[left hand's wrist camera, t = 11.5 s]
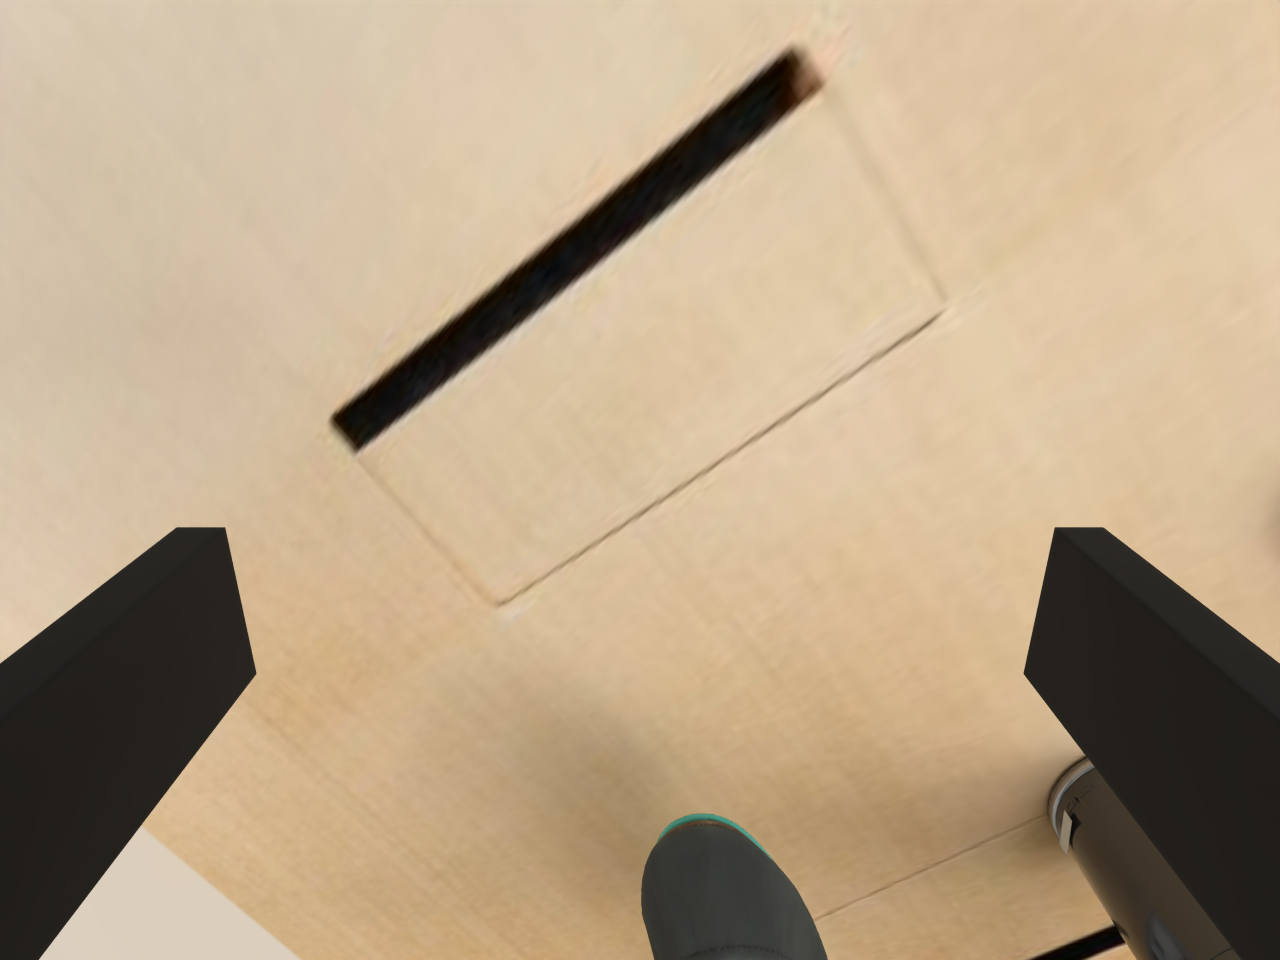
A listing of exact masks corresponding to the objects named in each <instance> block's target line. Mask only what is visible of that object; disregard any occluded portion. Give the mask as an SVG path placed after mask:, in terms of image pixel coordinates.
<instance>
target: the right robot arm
mask: <svg viewBox="0 0 1280 960" xmlns="http://www.w3.org/2000/svg"><path fill="white" fill-rule="evenodd" d="M1048 817H1049V821H1050V824H1051V826H1052V828H1053V830H1054V831H1055V833H1056V835H1057V836H1058V838H1059V839H1060V843H1059V844H1060V846H1061V847H1062V849H1063V851H1064V852H1065V854H1066V855H1067V851H1069V852H1070V854H1071V855H1072V857H1073V859H1074V860H1075V862H1076V863H1077V865H1078V867H1079V868H1080V870H1081V872H1082V873H1083V875H1084V877H1085V878H1086V880H1087V882H1088V883H1089V885H1090V886H1091V888H1092V889H1093V891H1094V893H1095V894H1096V896H1097V897H1098V899H1099V901H1100V902H1101V904H1102V905H1103V907H1104V909H1105V910H1106V912H1107V913H1108V915H1109V916H1110V918H1111V920H1112V921H1113V923H1114V924H1115V926H1116V928H1117V929H1118V931H1119V932H1120V934H1121V936H1122V937H1123V939H1124V940H1125V942H1126V944H1127V945H1128V947H1129V948H1130V950H1131V951H1132V953H1133V955H1134V956H1135V958H1136V959H1137V960H1241V959H1240V957H1239V956H1238V955H1237V953H1236V952H1235V951H1234V950H1233V948H1232V947H1231V946H1230V944H1229V943H1228V942H1227V940H1226V939H1225V938H1224V936H1223V935H1222V934H1221V932H1220V931H1219V930H1218V928H1217V927H1216V926H1215V925H1214V923H1213V922H1212V921H1211V919H1210V918H1209V917H1208V915H1207V914H1206V913H1205V911H1204V910H1203V909H1202V907H1201V906H1200V905H1199V904H1198V902H1197V901H1196V900H1195V898H1194V897H1193V896H1192V894H1191V893H1190V892H1189V890H1188V889H1187V888H1186V886H1185V885H1184V884H1183V883H1182V881H1181V880H1180V879H1179V877H1178V876H1177V875H1176V873H1175V872H1174V871H1173V869H1172V868H1171V867H1170V865H1169V864H1168V863H1167V862H1166V860H1165V859H1164V858H1163V856H1162V855H1161V854H1160V852H1159V851H1158V850H1157V848H1156V847H1155V846H1154V844H1153V843H1152V842H1151V840H1150V839H1149V838H1148V837H1147V835H1146V834H1145V833H1144V831H1143V830H1142V829H1141V827H1140V826H1139V825H1138V823H1137V822H1136V821H1135V819H1134V818H1133V817H1132V816H1131V814H1130V813H1129V812H1128V810H1127V809H1126V808H1125V806H1124V805H1123V804H1122V802H1121V801H1120V800H1119V798H1118V797H1117V796H1116V795H1115V793H1114V792H1113V791H1112V789H1111V788H1110V787H1109V785H1108V784H1107V783H1106V781H1105V780H1104V779H1103V777H1102V776H1101V775H1100V773H1099V772H1098V771H1097V770H1096V768H1095V767H1094V766H1093V764H1092V763H1091V762H1090V760H1089V759H1088V758H1086V759H1085V760H1083V761H1081V762H1079V763H1078V764H1077V765H1075V766H1074V767H1073V768H1071V769H1070V770H1069V771H1068V772H1067V773H1066V774H1065V775H1064V776H1063V777H1062V778H1061V779H1060V780H1059V782H1058V783H1057V784H1056V786H1055V788H1054V790H1053V792H1052V794H1051V797H1050V799H1049V804H1048Z"/></svg>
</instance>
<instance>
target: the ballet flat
mask: <svg viewBox="0 0 1280 960" xmlns="http://www.w3.org/2000/svg"><path fill="white" fill-rule="evenodd" d="M641 891H642V894H641V906H642V916H643V919H644V923H645V926H646V930H647V933H648V937H649V941H650V944H651V948H652V952H653V956H654V960H828V959H827V955H826V952H825V949H824V947H823V944H822V941H821V939H820V936H819V933H818V931H817V929H816V926H815V924H814V922H813V919H812V917H811V915H810V913H809V911H808V909H807V907H806V906H805V904H804V902H803V900H802V898H801V896H800V894H799V893H798V891H797V889H796V888H795V886H794V885H793V883H792V882H791V881H790V880H789V879H788V877H787V876H786V875H785V874H784V872H783V871H782V870H781V869H780V868H779V867H778V866H777V864H776V863H775V862H774V861H773V860H772V858H771V857H770V856H769V855H768V854H767V852H766V851H765V850H764V849H763V848H762V846H761V845H760V844H759V843H758V842H757V841H756V840H755V839H754V838H753V837H752V836H751V835H750V834H749V833H747V832H746V831H745V830H744V829H743V828H741V827H740V826H738V825H737V824H736V823H734V822H732V821H730V820H728V819H726V818H724V817H721V816H717V815H714V814H692V815H688V816H684V817H682V818H680V819H677V820H675V821H674V822H672V823H671V824H670V825H668V826H667V827H666V828H665V830H664V831H663V832H662V833H661V835H660V837H659V839H658V841H657V844H656V845H655V846H654V848H653V849H652V851H651V853H650V855H649V857H648V860H647V862H646V865H645V870H644V874H643V879H642V889H641Z"/></svg>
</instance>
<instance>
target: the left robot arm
mask: <svg viewBox="0 0 1280 960" xmlns="http://www.w3.org/2000/svg"><path fill="white" fill-rule="evenodd" d="M255 675H256V669H255V664H254V660H253V655H252V650H251V646H250V641H249V636H248V632H247V627H246V622H245V618H244V613H243V608H242V604H241V599H240V594H239V590H238V585H237V580H236V576H235V571H234V566H233V562H232V557H231V552H230V548H229V543H228V538H227V534H226V529H225V527H177V528H175V529H174V530H173V531H171V532H170V533H169V534H168V535H166V536H165V537H164V538H162V539H161V540H160V541H159V542H157V543H156V544H155V545H153V546H152V547H151V548H149V549H148V550H147V551H146V552H144V553H143V554H142V555H140V556H139V557H138V558H136V559H135V560H134V561H133V562H131V563H130V564H129V565H127V566H126V567H125V568H124V569H122V570H121V571H120V572H118V573H117V574H116V575H114V576H113V577H112V578H111V579H109V580H108V581H107V582H105V583H104V584H103V585H101V586H100V587H99V588H98V589H96V590H95V591H94V592H92V593H91V594H90V595H89V596H87V597H86V598H85V599H83V600H82V601H81V602H79V603H78V604H77V605H76V606H74V607H73V608H72V609H70V610H69V611H68V612H67V613H65V614H64V615H63V616H61V617H60V618H59V619H57V620H56V621H55V622H54V623H52V624H51V625H50V626H48V627H47V628H46V629H44V630H43V631H42V632H41V633H39V634H38V635H37V636H35V637H34V638H33V639H32V640H30V641H29V642H28V643H26V644H25V645H24V646H22V647H21V648H20V649H19V650H17V651H16V652H15V653H13V654H12V655H11V656H9V657H8V658H7V659H6V660H4V661H3V662H2V663H0V960H39V959H40V957H41V956H42V955H43V953H44V952H45V951H46V950H47V948H48V947H49V946H50V944H51V943H52V942H53V940H54V939H55V938H56V936H57V935H58V934H59V932H60V931H61V930H62V928H63V927H64V926H65V925H66V923H67V922H68V921H69V919H70V918H71V917H72V915H73V914H74V913H75V911H76V910H77V909H78V907H79V906H80V905H81V904H82V902H83V901H84V900H85V898H86V897H87V896H88V894H89V893H90V892H91V890H92V889H93V888H94V886H95V885H96V884H97V883H98V881H99V880H100V879H101V877H102V876H103V875H104V873H105V872H106V871H107V869H108V868H109V867H110V865H111V864H112V863H113V862H114V860H115V859H116V858H117V856H118V855H119V854H120V852H121V851H122V850H123V848H124V847H125V846H126V844H127V843H128V842H129V840H130V839H131V838H132V837H133V835H134V834H135V833H136V831H137V830H138V829H139V827H140V826H141V825H142V823H143V822H144V821H145V819H146V818H147V817H148V816H149V814H150V813H151V812H152V810H153V809H154V808H155V806H156V805H157V804H158V802H159V801H160V800H161V798H162V797H163V796H164V795H165V793H166V792H167V791H168V789H169V788H170V787H171V785H172V784H173V783H174V781H175V780H176V779H177V777H178V776H179V775H180V773H181V772H182V771H183V770H184V768H185V767H186V766H187V764H188V763H189V762H190V760H191V759H192V758H193V756H194V755H195V754H196V752H197V751H198V750H199V749H200V747H201V746H202V745H203V743H204V742H205V741H206V739H207V738H208V737H209V735H210V734H211V733H212V731H213V730H214V729H215V728H216V726H217V725H218V724H219V722H220V721H221V720H222V718H223V717H224V716H225V714H226V713H227V712H228V710H229V709H230V708H231V707H232V705H233V704H234V703H235V701H236V700H237V699H238V697H239V696H240V695H241V693H242V692H243V691H244V689H245V688H246V687H247V685H248V684H249V683H250V682H251V680H252V679H253V678H254V676H255ZM1024 675H1025V676H1026V678H1027V679H1028V680H1029V682H1030V683H1031V684H1032V685H1033V687H1034V688H1035V689H1036V691H1037V692H1038V693H1039V695H1040V696H1041V697H1042V699H1043V700H1044V701H1045V703H1046V704H1047V705H1048V707H1049V708H1050V709H1051V710H1052V712H1053V713H1054V714H1055V716H1056V717H1057V718H1058V720H1059V721H1060V722H1061V724H1062V725H1063V726H1064V728H1065V729H1066V730H1067V731H1068V733H1069V734H1070V735H1071V737H1072V738H1073V739H1074V741H1075V742H1076V743H1077V745H1078V746H1079V747H1080V749H1081V750H1082V751H1083V752H1084V754H1085V755H1086V756H1087V758H1088V759H1089V760H1090V762H1091V763H1092V764H1093V766H1094V767H1095V768H1096V770H1097V771H1098V772H1099V773H1100V775H1101V776H1102V777H1103V779H1104V780H1105V781H1106V783H1107V784H1108V785H1109V787H1110V788H1111V789H1112V791H1113V792H1114V793H1115V795H1116V796H1117V797H1118V798H1119V800H1120V801H1121V802H1122V804H1123V805H1124V806H1125V808H1126V809H1127V810H1128V812H1129V813H1130V814H1131V816H1132V817H1133V818H1134V819H1135V821H1136V822H1137V823H1138V825H1139V826H1140V827H1141V829H1142V830H1143V831H1144V833H1145V834H1146V835H1147V837H1148V838H1149V839H1150V840H1151V842H1152V843H1153V844H1154V846H1155V847H1156V848H1157V850H1158V851H1159V852H1160V854H1161V855H1162V856H1163V858H1164V859H1165V860H1166V862H1167V863H1168V864H1169V865H1170V867H1171V868H1172V869H1173V871H1174V872H1175V873H1176V875H1177V876H1178V877H1179V879H1180V880H1181V881H1182V883H1183V884H1184V885H1185V886H1186V888H1187V889H1188V890H1189V892H1190V893H1191V894H1192V896H1193V897H1194V898H1195V900H1196V901H1197V902H1198V904H1199V905H1200V906H1201V907H1202V909H1203V910H1204V911H1205V913H1206V914H1207V915H1208V917H1209V918H1210V919H1211V921H1212V922H1213V923H1214V925H1215V926H1216V927H1217V928H1218V930H1219V931H1220V932H1221V934H1222V935H1223V936H1224V938H1225V939H1226V940H1227V942H1228V943H1229V944H1230V946H1231V947H1232V948H1233V950H1234V951H1235V952H1236V953H1237V955H1238V956H1239V957H1240V959H1241V960H1280V663H1278V662H1277V661H1276V660H1274V659H1273V658H1272V657H1271V656H1269V655H1268V654H1267V653H1265V652H1264V651H1263V650H1261V649H1260V648H1259V647H1258V646H1256V645H1255V644H1254V643H1252V642H1251V641H1250V640H1248V639H1247V638H1246V637H1245V636H1243V635H1242V634H1241V633H1239V632H1238V631H1237V630H1236V629H1234V628H1233V627H1232V626H1230V625H1229V624H1228V623H1226V622H1225V621H1224V620H1223V619H1221V618H1220V617H1219V616H1217V615H1216V614H1215V613H1213V612H1212V611H1211V610H1210V609H1208V608H1207V607H1206V606H1204V605H1203V604H1202V603H1201V602H1199V601H1198V600H1197V599H1195V598H1194V597H1193V596H1191V595H1190V594H1189V593H1188V592H1186V591H1185V590H1184V589H1182V588H1181V587H1180V586H1179V585H1177V584H1176V583H1175V582H1173V581H1172V580H1171V579H1169V578H1168V577H1167V576H1166V575H1164V574H1163V573H1162V572H1160V571H1159V570H1158V569H1156V568H1155V567H1154V566H1153V565H1151V564H1150V563H1149V562H1147V561H1146V560H1145V559H1144V558H1142V557H1141V556H1140V555H1138V554H1137V553H1136V552H1134V551H1133V550H1132V549H1131V548H1129V547H1128V546H1127V545H1125V544H1124V543H1123V542H1121V541H1120V540H1119V539H1118V538H1116V537H1115V536H1114V535H1112V534H1111V533H1110V532H1109V531H1107V530H1106V529H1105V528H1103V527H1055V529H1054V534H1053V538H1052V543H1051V548H1050V552H1049V557H1048V562H1047V566H1046V571H1045V576H1044V580H1043V585H1042V590H1041V594H1040V599H1039V604H1038V608H1037V613H1036V618H1035V622H1034V627H1033V632H1032V636H1031V641H1030V646H1029V650H1028V655H1027V660H1026V664H1025V669H1024Z"/></svg>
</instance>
